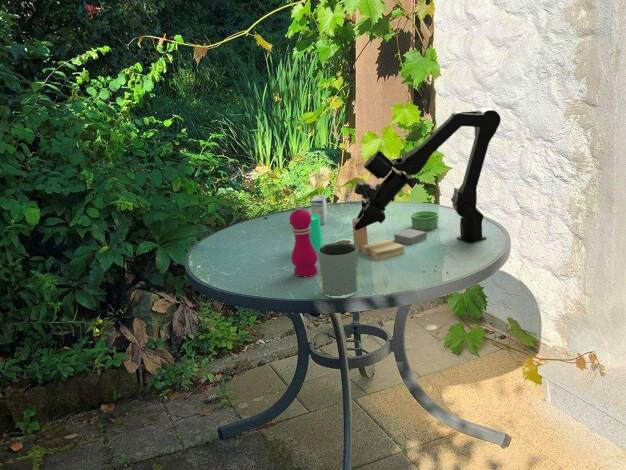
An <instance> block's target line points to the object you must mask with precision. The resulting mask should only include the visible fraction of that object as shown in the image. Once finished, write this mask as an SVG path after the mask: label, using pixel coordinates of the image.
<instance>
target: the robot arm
mask: <svg viewBox="0 0 626 470" xmlns="http://www.w3.org/2000/svg"><path fill="white" fill-rule="evenodd" d="M501 120H502V119H501V115H500V114H499V112H497V111H496V110H494V109H491V108H489V107H483V108H481V109H479V110H470V111H469V110H468V111H459V110H458V111H454V112H453V113H451V114H450V116H449V117H448V118H447V119H446V120H445V121H444V122H443V123H442V124H441V125H440V126H439V127H438V128H437V129H436V130H435V131H433V133H431V134H430V136H428V137H427V138H426V139H425V140H424V141H423V142H422V143H421V144H419V145H418V146H416V147H413V148H412V149H411V150H409V151H407V152H406V153H405V154H402V155H403V156H402V157H397V158H393V159H390V158H389V157H388V156H386V155H385V154H384V152H383V151H381V150H380V149H378V150H377V151H376V152H375V153H373V154H372V155H371V156H370V157H369V158H368V159H367V160H366V162H365V163H364V164H363V168H364V169H365V170H367V172H369V173H370V174H371V175H372V176H374V177H375V178H376V179H377V180H379V179H383V180H382V182H381V183H377V184H376V185H375V186H374V185H371V184H370V183H367V182H363V181H361V180H357V181H356V184H355V187H354V189H353V192H354V193H355V194H356V195H360V196H361V198H362V200H361V209H360V210H359V213H358V215H357V216H356V218H360V219H359V221H358V222H357V224H356V226H355V227H354V229H355V230H359V229H361V228H363V227H368V226H370V225H372V224H375V223H379V224H382V223H384V221H385V220H386V214H385V211H386V209H387V208H386V207H387V206H388V205H389V204H390V203H391V202H394V201H395V200H396V196H397V195H398V194H399V193H400V192H401V191H402V189H403V188H404V187H405V186H406V185H408V186H409V187H410V188H414V183H413V181H414V178H413V176H416V175H418V174H419V173H420V172H421V171H422V169H423V168H424V167H425V166H426V165H427V163H428V161H429V159H430V158H431V156H432V155H433V154H434V153H435V152H436V151H437V150H438V149H439V148H440V147H441V146H442V145H443V144H444V143H445V142H446V141H447V140H449V139H450V138H451V136H453V135H454V134H455V133H456V132H457V131H458V130H459V129H460V128H462V127H472V128H474V138H473V139H474V140H473V144H472V147H471V150H470V154H469V158H468V161H467V165H466V170H465V173H464V177H463V180H462V183H461V185H460V187H459V188H457V187H453V188H454V189H453V194H452V197H451V199H450V201H451V203H452V208H453V209H454V210H455V212H456V214H457V215H459V218H460V221H459V226H460V228H459V233H460V235H458V236H456V239H457V240H461V241H463V242H466V243H469V244H471V243H472V244H473V243H475V242H478V241H482V240H486V239H487V236H485V235H483V221H484V216H485V215H484V214H483V213H482V212H481V211H480V210H479V209H478V208H477V200H478V197H477V188H478V184H479V181H480V177H481V173H482V170H483V165H484V163H485V158H486V156H487V152H488V148H489V144H490V142H491V140H492V139H493V137H494V136H495V134H496V132H497V131H498V128H499V126H500V125H501Z"/></svg>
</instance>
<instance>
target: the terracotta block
mask: <svg viewBox="0 0 626 470" xmlns="http://www.w3.org/2000/svg"><path fill="white" fill-rule="evenodd" d="M359 219H360V218H357V217H356V218H352V221H351V222H352V233H353V234H352V235H353V244H354V245H355V246H357V248H358V250H357V252H358V251H362V246H363V245H367V244H369V242H368V231H367V229H368V228H367V227H368V226H366V227H363V228H361V229H359V230H355V229H354V227H355V226H356V224H357V222H358V221H359Z"/></svg>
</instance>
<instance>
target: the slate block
mask: <svg viewBox="0 0 626 470" xmlns="http://www.w3.org/2000/svg"><path fill="white" fill-rule="evenodd" d="M393 236H394V237H393V238H394V242H397V243H398V242H400V243H404V244H407V245H413V244H414V245H415V244H417V243H419V242H421V241H424V240H427V239H428V238H427V237H428V235H427V232H426V231H425V230H416V229H414V228H407V229H404V230H402V231H400V232H397V233H394V234H393Z"/></svg>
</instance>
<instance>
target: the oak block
mask: <svg viewBox="0 0 626 470" xmlns="http://www.w3.org/2000/svg"><path fill="white" fill-rule="evenodd" d="M361 251H362V253H363V254H366V255H368V256H370V257H372V258H374V259H375V260H377V261H378V260H383V259H387V258H390V257H394V256H399V255H402V254H405V253H406V251H405V245H402V244H399V243H398V242H396V241H392V240H390V239H384V240H380V241H376V242H373V243H368V244H367V245H363V246H362V250H361Z"/></svg>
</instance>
